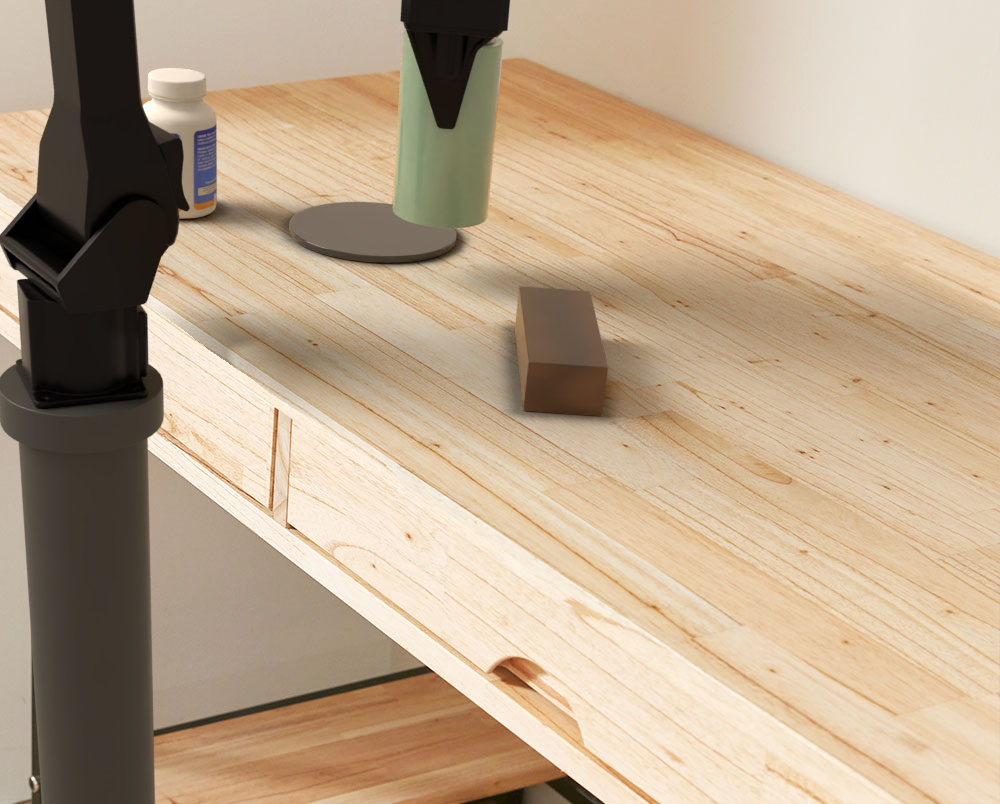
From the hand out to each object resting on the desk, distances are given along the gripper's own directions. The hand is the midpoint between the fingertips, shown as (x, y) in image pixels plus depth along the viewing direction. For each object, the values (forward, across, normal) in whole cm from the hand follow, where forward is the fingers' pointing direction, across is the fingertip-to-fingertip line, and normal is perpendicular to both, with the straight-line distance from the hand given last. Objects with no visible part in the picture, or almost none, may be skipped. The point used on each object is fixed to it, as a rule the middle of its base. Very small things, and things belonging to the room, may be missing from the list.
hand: (446, 114), depth 99 cm
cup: (+5, 0, +4) cm, 7 cm away
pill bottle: (+11, +10, +19) cm, 24 cm away
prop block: (+11, -15, -8) cm, 20 cm away
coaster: (+11, +8, +5) cm, 14 cm away
